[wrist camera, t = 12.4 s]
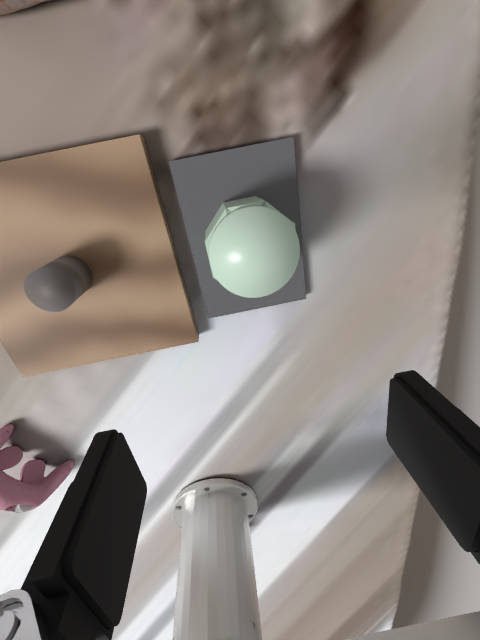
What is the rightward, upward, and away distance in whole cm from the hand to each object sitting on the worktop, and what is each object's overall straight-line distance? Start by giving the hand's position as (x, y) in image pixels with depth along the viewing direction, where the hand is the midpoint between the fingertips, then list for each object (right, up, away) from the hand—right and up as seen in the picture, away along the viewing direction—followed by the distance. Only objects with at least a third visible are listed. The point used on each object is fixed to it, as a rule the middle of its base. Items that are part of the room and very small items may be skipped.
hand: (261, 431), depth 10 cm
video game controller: (-27, -12, +26) cm, 39 cm away
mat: (0, +11, +16) cm, 20 cm away
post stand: (-16, +8, +16) cm, 24 cm away
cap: (0, +11, +16) cm, 19 cm away
